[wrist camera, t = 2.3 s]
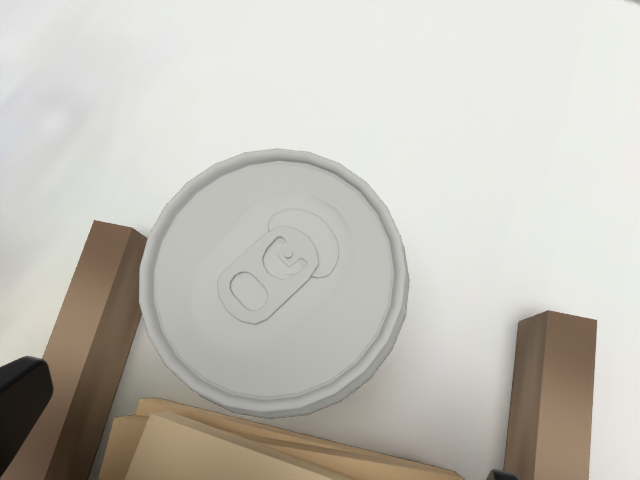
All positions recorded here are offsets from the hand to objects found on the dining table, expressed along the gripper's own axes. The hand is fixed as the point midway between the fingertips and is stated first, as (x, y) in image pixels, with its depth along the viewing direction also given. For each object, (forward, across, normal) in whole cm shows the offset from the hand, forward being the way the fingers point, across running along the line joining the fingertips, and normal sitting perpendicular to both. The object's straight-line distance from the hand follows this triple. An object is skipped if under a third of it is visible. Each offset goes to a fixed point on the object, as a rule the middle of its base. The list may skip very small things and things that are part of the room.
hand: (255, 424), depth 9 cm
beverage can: (+9, 0, +5) cm, 10 cm away
